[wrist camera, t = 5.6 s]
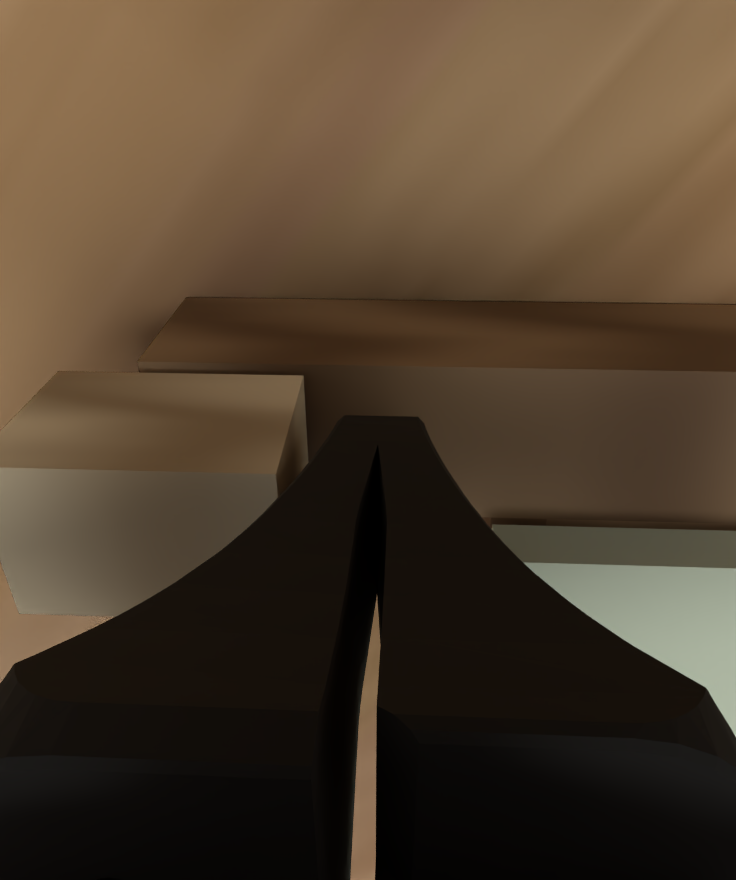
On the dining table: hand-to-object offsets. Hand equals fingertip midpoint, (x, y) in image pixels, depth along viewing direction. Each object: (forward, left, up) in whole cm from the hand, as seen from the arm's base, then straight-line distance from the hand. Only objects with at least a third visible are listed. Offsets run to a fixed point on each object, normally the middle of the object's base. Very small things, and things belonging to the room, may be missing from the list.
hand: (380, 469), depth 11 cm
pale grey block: (-3, 0, -1) cm, 3 cm away
